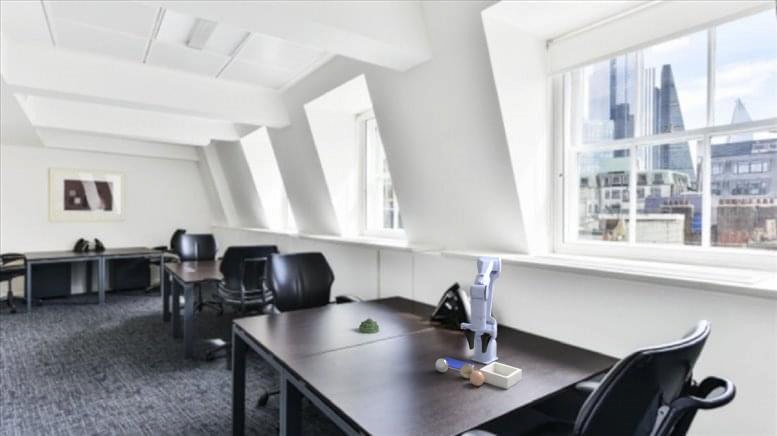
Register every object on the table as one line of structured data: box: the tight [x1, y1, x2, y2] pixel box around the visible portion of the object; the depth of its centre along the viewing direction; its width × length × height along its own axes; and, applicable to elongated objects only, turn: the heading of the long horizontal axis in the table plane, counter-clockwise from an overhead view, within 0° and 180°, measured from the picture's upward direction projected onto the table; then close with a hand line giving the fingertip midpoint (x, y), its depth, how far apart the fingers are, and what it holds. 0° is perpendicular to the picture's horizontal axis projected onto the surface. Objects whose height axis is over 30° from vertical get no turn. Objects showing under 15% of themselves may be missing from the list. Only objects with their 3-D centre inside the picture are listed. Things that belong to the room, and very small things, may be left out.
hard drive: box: [443, 356, 475, 372], centre depth 167 cm, size 2×8×12 cm
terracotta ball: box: [469, 370, 485, 387], centre depth 148 cm, size 5×5×5 cm
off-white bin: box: [478, 361, 523, 390], centre depth 153 cm, size 11×11×4 cm
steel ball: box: [434, 358, 449, 373], centre depth 160 cm, size 5×5×5 cm
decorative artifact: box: [358, 316, 380, 335], centre depth 212 cm, size 10×7×10 cm
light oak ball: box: [459, 364, 475, 379], centre depth 154 cm, size 5×5×5 cm
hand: (477, 350), depth 160 cm, fingers open, 5 cm apart
